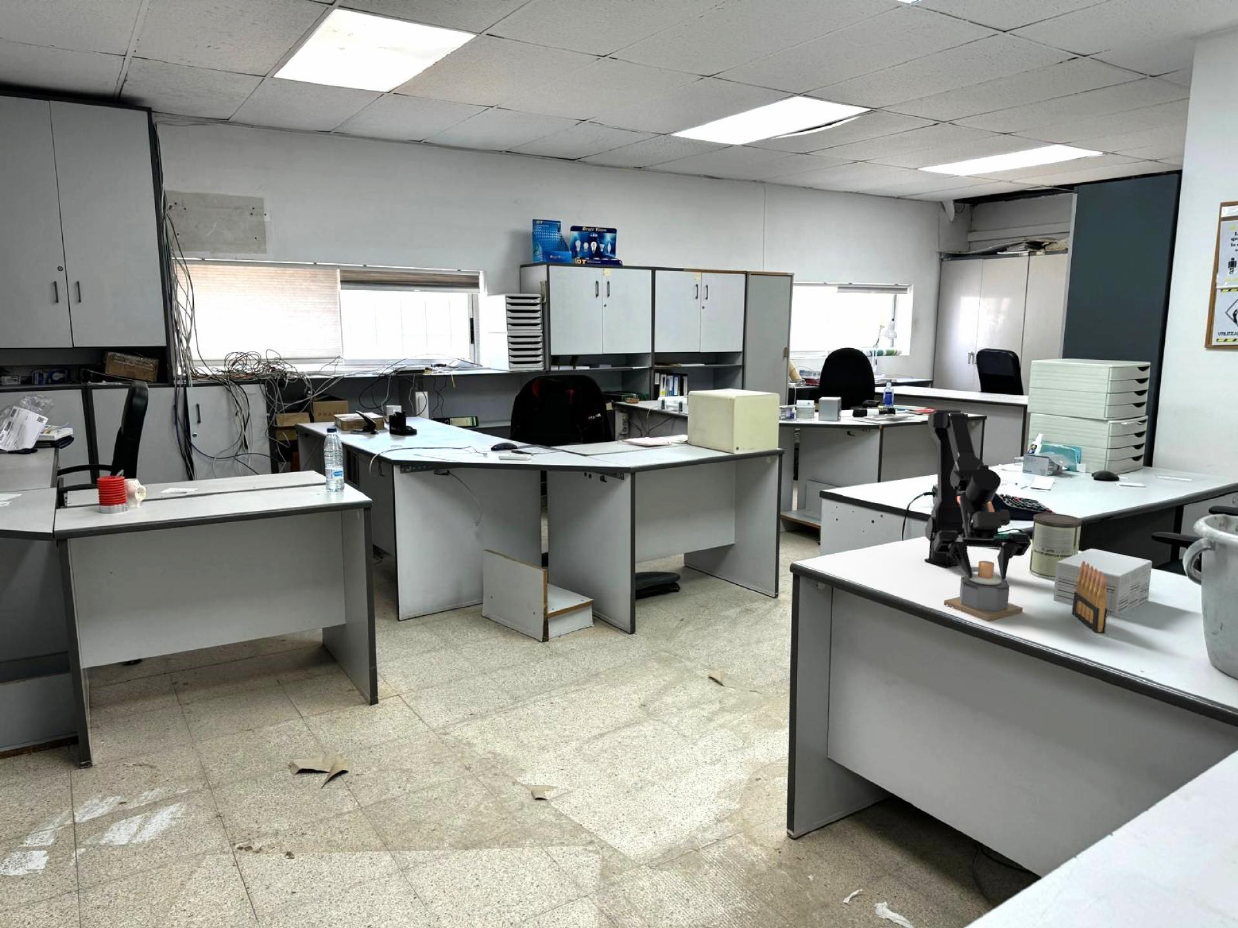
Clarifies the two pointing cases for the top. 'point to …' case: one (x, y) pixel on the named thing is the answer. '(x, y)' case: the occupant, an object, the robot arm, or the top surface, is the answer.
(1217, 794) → the top surface
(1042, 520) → the coffee can
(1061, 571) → the supplement box
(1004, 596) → the pump canister
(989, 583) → the pump plunger
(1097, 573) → the ammunition clip
